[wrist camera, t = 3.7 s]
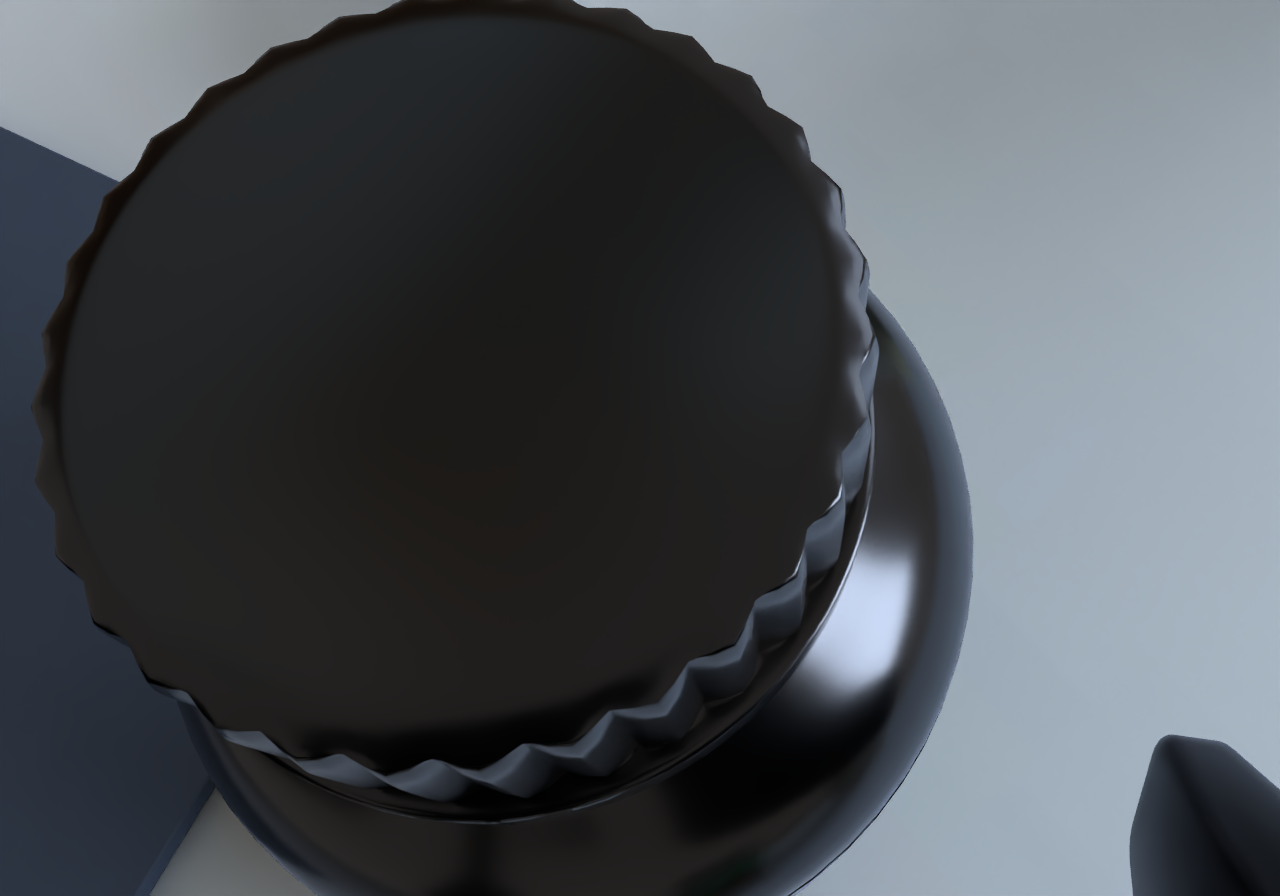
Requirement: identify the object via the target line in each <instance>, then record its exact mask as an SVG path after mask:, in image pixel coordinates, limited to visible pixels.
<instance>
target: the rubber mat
mask: <svg viewBox="0 0 1280 896" xmlns="http://www.w3.org/2000/svg"><path fill="white" fill-rule="evenodd" d="M118 183H120V182H118V181H116V180H114V179H112V178H109V177H107V176H105V175H103V174H101V173H99V172H97V171H94V170H92V169H90V168H88V167H86V166H84V165H82V164H79V163H77V162H75V161H73V160H71V159H69V158H66V157H64V156H62V155H60V154H58V153H56V152H54V151H51V150H49V149H47V148H45V147H43V146H41V145H39V144H36V143H34V142H32V141H30V140H28V139H26V138H24V137H21V136H19V135H17V134H15V133H13V132H11V131H8V130H6V129H4V128H2V127H0V896H148V895H149V894H150V892H151V890H152V889H153V887H154V885H155V884H156V882H157V880H158V879H159V877H160V876H161V874H162V872H163V871H164V869H165V867H166V866H167V864H168V862H169V861H170V859H171V858H172V856H173V854H174V853H175V851H176V849H177V848H178V846H179V845H180V843H181V841H182V840H183V838H184V836H185V835H186V833H187V831H188V830H189V828H190V827H191V825H192V823H193V822H194V820H195V818H196V817H197V815H198V814H199V812H200V810H201V809H202V807H203V805H204V804H205V802H206V800H207V799H208V797H209V796H210V794H211V792H212V791H213V789H214V787H215V784H214V783H213V781H212V779H211V778H210V776H209V775H208V773H207V771H206V769H205V767H204V765H203V763H202V761H201V759H200V757H199V755H198V753H197V751H196V749H195V747H194V745H193V743H192V741H191V739H190V736H189V733H188V731H187V728H186V725H185V723H184V720H183V717H182V714H181V712H180V709H179V706H178V704H177V701H176V700H175V699H172V698H170V697H167V696H164V695H162V694H160V693H158V692H157V691H155V690H154V689H153V688H152V687H151V686H150V685H149V684H148V683H147V681H146V679H145V677H144V676H143V674H142V672H141V670H140V668H139V666H138V665H137V663H136V660H135V658H134V655H133V653H132V651H131V648H129V647H127V646H125V645H123V644H121V643H120V642H118V641H116V640H114V639H113V638H111V637H109V636H108V635H106V634H104V633H103V632H102V631H100V630H99V629H98V628H97V627H96V626H95V625H94V624H93V621H92V617H91V614H90V610H89V607H88V603H87V598H86V592H85V587H84V581H83V580H81V579H80V578H78V577H77V576H76V575H75V574H73V573H72V572H71V571H70V570H69V569H68V568H67V567H66V566H65V565H64V564H63V563H62V562H61V561H60V560H59V559H58V558H57V557H56V555H55V538H54V529H55V512H54V511H53V509H52V508H51V507H50V505H49V504H48V503H47V501H46V500H45V499H44V497H43V496H42V494H41V492H40V490H39V489H38V487H37V485H36V484H35V477H36V471H37V464H38V459H39V455H40V450H41V446H42V441H43V440H42V437H41V433H40V430H39V428H38V427H37V425H36V424H35V420H34V417H33V414H32V410H31V404H32V401H33V399H34V396H35V393H36V390H37V387H38V385H39V383H40V380H41V378H42V376H43V373H44V371H45V369H46V363H45V355H44V352H43V347H42V331H43V329H44V328H45V326H46V324H47V322H48V321H49V319H50V317H51V315H52V314H53V312H54V311H55V309H56V308H57V306H58V304H59V303H60V301H61V300H62V298H63V294H64V286H65V284H64V275H65V268H66V262H67V261H68V259H69V258H70V257H71V256H72V254H73V253H74V252H75V251H76V250H77V248H78V247H79V246H80V245H81V244H82V243H83V242H84V240H85V239H86V238H87V237H88V236H89V235H90V234H91V233H92V232H93V230H94V226H95V222H96V218H97V214H98V211H99V208H100V205H101V202H102V199H103V197H104V196H105V195H106V194H107V193H108V192H109V191H110V190H111V189H113V188H114V187H115V186H116V185H117V184H118Z"/></svg>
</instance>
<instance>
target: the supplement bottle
mask: <svg viewBox="0 0 1280 896" xmlns="http://www.w3.org/2000/svg"><path fill="white" fill-rule="evenodd" d="M845 227H846V220H845V202H844V196H843V193H842V189H841V188H840V187H839V186H838V185H837V184H836V183H835V182H834V181H833V180H832V179H831V178H830V177H829V176H828V175H827V174H826V173H825V172H823V171H822V170H821V169H820V168H819V167H817V166H816V165H815V164H814V163H813V162H811V157H810V151H809V147H808V143H807V140H806V137H805V134H804V131H803V128H802V127H801V126H800V125H798V124H797V123H795V122H794V121H792V120H791V119H789V118H788V117H786V116H784V115H783V114H781V113H779V112H777V111H775V110H773V109H772V108H770V107H768V106H767V104H766V103H765V101H764V100H763V97H762V94H761V91H760V89H759V87H758V86H757V84H756V82H755V81H754V79H753V77H752V76H750V75H748V74H746V73H743V72H741V71H738V70H736V69H733V68H730V67H727V66H724V65H721V64H718V63H715V62H714V61H713V60H712V58H711V57H710V56H709V55H708V53H707V52H706V51H705V49H704V48H703V47H702V46H701V45H700V44H699V43H698V42H697V41H696V40H695V39H694V38H693V37H692V36H688V35H683V34H679V33H674V32H668V31H661V30H654V29H652V28H651V27H649V26H648V25H646V24H645V23H644V22H643V21H642V20H641V19H640V18H639V17H638V16H636V15H635V14H633V13H632V12H630V11H629V10H627V9H621V8H586V7H584V6H581V5H579V4H577V3H576V2H574V1H573V0H402V1H400V2H397V3H395V4H393V5H392V6H390V7H389V8H387V9H385V10H383V11H381V12H378V13H376V14H362V15H351V16H343V17H338V18H337V19H335V20H334V21H332V22H330V23H329V24H327V25H326V26H324V27H323V28H322V29H321V30H320V31H319V32H317V33H316V34H314V35H313V36H311V37H310V38H308V39H304V40H300V41H295V42H290V43H286V44H283V45H279V46H275V47H272V48H270V49H269V50H268V51H267V52H265V53H264V54H263V55H262V56H261V57H260V58H259V59H258V60H257V61H256V62H255V63H254V65H252V66H251V67H250V68H249V69H248V70H247V71H246V72H245V73H244V74H241V75H239V76H236V77H233V78H231V79H228V80H225V81H223V82H221V83H219V84H216V85H214V86H212V87H210V88H207V90H206V91H205V92H204V93H203V95H202V96H201V97H200V98H199V100H198V101H197V102H196V103H195V105H194V106H193V108H192V109H191V110H190V112H189V113H188V115H187V116H186V117H185V118H184V119H182V120H181V121H179V122H177V123H175V124H173V125H172V126H170V127H168V128H167V129H165V130H163V131H162V132H160V133H159V134H157V135H156V136H154V137H152V138H151V140H150V141H149V143H148V145H147V147H146V149H145V150H144V152H143V154H142V157H141V160H140V161H139V163H138V165H137V167H136V169H135V170H134V171H133V172H132V173H131V174H130V175H128V176H127V177H126V178H125V179H123V180H122V181H121V182H120V183H118V184H117V185H116V186H115V187H114V188H113V189H111V190H110V191H109V192H108V193H107V194H106V195H105V196H104V197H103V199H102V202H101V205H100V208H99V211H98V214H97V218H96V222H95V226H94V230H93V232H92V233H91V234H90V235H89V236H88V237H87V238H86V239H85V240H84V242H83V243H82V244H81V245H80V246H79V247H78V248H77V250H76V251H75V252H74V253H73V254H72V256H71V257H70V258H69V259H68V261H67V262H66V268H65V275H64V284H65V286H64V294H63V298H62V300H61V301H60V303H59V304H58V306H57V308H56V309H55V311H54V312H53V314H52V315H51V317H50V319H49V321H48V322H47V324H46V326H45V328H44V329H43V331H42V347H43V352H44V355H45V363H46V369H45V371H44V373H43V376H42V378H41V380H40V383H39V385H38V387H37V390H36V393H35V396H34V399H33V401H32V404H31V410H32V414H33V417H34V420H35V424H36V425H37V427H38V428H39V430H40V433H41V437H42V440H43V441H42V446H41V450H40V455H39V459H38V464H37V471H36V477H35V484H36V485H37V487H38V489H39V490H40V492H41V494H42V496H43V497H44V499H45V500H46V501H47V503H48V504H49V505H50V507H51V508H52V509H53V511H54V512H55V529H54V538H55V555H56V557H57V558H58V559H59V560H60V561H61V562H62V563H63V564H64V565H65V566H66V567H67V568H68V569H69V570H70V571H71V572H72V573H73V574H75V575H76V576H77V577H78V578H80V579H81V580H83V581H84V587H85V592H86V598H87V603H88V607H89V610H90V614H91V617H92V621H93V624H94V625H95V626H96V627H97V628H98V629H99V630H100V631H102V632H103V633H104V634H106V635H108V636H109V637H111V638H113V639H114V640H116V641H118V642H120V643H121V644H123V645H125V646H127V647H129V648H131V651H132V653H133V655H134V658H135V660H136V663H137V665H138V666H139V668H140V670H141V672H142V674H143V676H144V677H145V679H146V681H147V683H148V684H149V685H150V686H151V687H152V688H153V689H154V690H155V691H157V692H158V693H160V694H162V695H164V696H167V697H170V698H172V699H175V700H176V701H177V704H178V706H179V709H180V712H181V714H182V717H183V720H184V723H185V725H186V728H187V731H188V733H189V736H190V739H191V741H192V743H193V745H194V747H195V749H196V751H197V753H198V755H199V757H200V759H201V761H202V763H203V765H204V767H205V769H206V771H207V773H208V775H209V776H210V778H211V779H212V781H213V783H214V784H215V786H216V787H217V789H218V790H219V792H220V794H221V795H222V797H223V798H224V800H225V801H226V803H227V805H228V806H229V808H230V809H231V810H232V811H233V813H234V814H235V815H236V816H237V818H238V819H239V820H240V821H241V823H242V824H243V825H244V826H245V828H246V829H247V830H248V831H249V833H250V834H251V835H252V836H253V838H254V839H255V840H256V841H257V842H258V843H259V844H260V845H261V846H262V847H263V848H264V849H265V850H266V851H267V852H268V853H269V854H270V855H271V856H272V857H273V858H274V859H275V860H276V861H277V862H278V863H279V864H280V865H281V866H282V867H283V868H284V869H285V870H286V871H287V872H288V873H290V874H291V875H292V876H294V877H295V878H296V879H297V880H299V881H300V882H301V883H302V884H304V885H305V886H306V887H307V888H309V889H310V890H311V891H312V892H314V893H315V894H316V895H317V896H795V895H796V894H798V893H799V892H800V891H802V890H803V889H804V888H805V887H807V886H808V885H809V884H810V883H811V882H812V881H813V880H814V879H816V878H817V877H818V876H819V875H820V874H821V873H822V872H823V871H825V870H826V869H827V868H828V867H829V866H830V865H831V864H832V863H833V862H835V861H836V860H837V859H838V858H839V857H840V856H841V855H842V854H843V853H845V852H846V851H847V850H848V848H849V847H850V846H851V845H852V844H853V843H854V842H855V841H856V840H857V839H858V838H859V836H860V835H861V834H862V833H863V832H864V831H865V830H866V829H867V828H868V827H869V826H870V824H871V823H872V822H873V821H874V820H875V819H876V818H877V816H878V815H879V814H880V812H881V811H882V810H883V808H884V807H885V806H886V804H887V803H888V802H889V800H890V799H891V798H892V796H893V795H894V793H895V792H896V791H897V789H898V788H899V787H900V785H901V784H902V783H903V781H904V779H905V778H906V776H907V774H908V773H909V771H910V769H911V768H912V766H913V764H914V762H915V761H916V759H917V757H918V756H919V754H920V752H921V751H922V749H923V747H924V745H925V743H926V741H927V739H928V737H929V735H930V732H931V730H932V728H933V726H934V724H935V722H936V719H937V717H938V715H939V713H940V711H941V708H942V706H943V703H944V700H945V697H946V694H947V691H948V688H949V685H950V682H951V679H952V676H953V674H954V671H955V668H956V665H957V661H958V658H959V654H960V649H961V645H962V641H963V636H964V632H965V627H966V623H967V618H968V611H969V603H970V594H971V586H972V577H973V529H972V518H971V507H970V496H969V491H968V486H967V481H966V476H965V471H964V466H963V461H962V457H961V453H960V450H959V447H958V444H957V440H956V437H955V434H954V431H953V427H952V424H951V421H950V418H949V416H948V413H947V411H946V408H945V406H944V404H943V401H942V399H941V397H940V394H939V392H938V390H937V387H936V385H935V383H934V381H933V379H932V377H931V375H930V373H929V372H928V370H927V368H926V366H925V364H924V363H923V361H922V359H921V357H920V355H919V353H918V352H917V350H916V348H915V347H914V345H913V344H912V342H911V341H910V340H909V338H908V337H907V335H906V334H905V332H904V331H903V330H902V328H901V327H900V325H899V324H898V322H897V321H896V319H895V318H894V317H893V316H892V315H891V313H890V312H889V311H888V310H887V309H886V308H885V306H884V305H883V304H882V303H881V302H880V301H879V299H878V298H877V297H876V296H875V295H874V294H873V292H872V291H871V290H870V289H869V279H870V272H869V267H868V263H867V260H866V258H865V257H864V255H863V254H862V252H861V251H860V249H859V247H858V246H857V244H856V243H855V241H854V240H853V239H852V238H851V236H850V235H849V234H848V232H847V231H846V230H845Z"/></svg>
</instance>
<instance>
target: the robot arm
mask: <svg viewBox="0 0 1280 896" xmlns="http://www.w3.org/2000/svg"><path fill="white" fill-rule="evenodd" d="M1130 868H1131V878H1132V888H1133V896H1280V789H1278V788H1277V787H1276V786H1275V785H1274V784H1273V783H1272V782H1270V781H1269V780H1268V779H1267V778H1266V777H1265V776H1264V775H1262V774H1261V773H1260V772H1259V771H1258V770H1257V769H1256V768H1254V767H1253V766H1252V765H1251V764H1250V763H1249V762H1248V761H1246V760H1245V759H1244V758H1243V757H1242V756H1241V755H1240V754H1238V753H1237V752H1236V751H1235V750H1234V749H1232V748H1231V747H1230V746H1228V745H1227V744H1225V743H1223V742H1220V741H1214V740H1207V739H1200V738H1193V737H1186V736H1179V735H1167V736H1165V737H1163V738H1161V739H1160V740H1159V742H1158V743H1157V745H1156V747H1155V748H1154V751H1153V754H1152V757H1151V761H1150V764H1149V768H1148V771H1147V775H1146V778H1145V782H1144V785H1143V789H1142V792H1141V796H1140V799H1139V803H1138V806H1137V810H1136V813H1135V817H1134V820H1133V824H1132V829H1131V836H1130Z"/></svg>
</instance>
